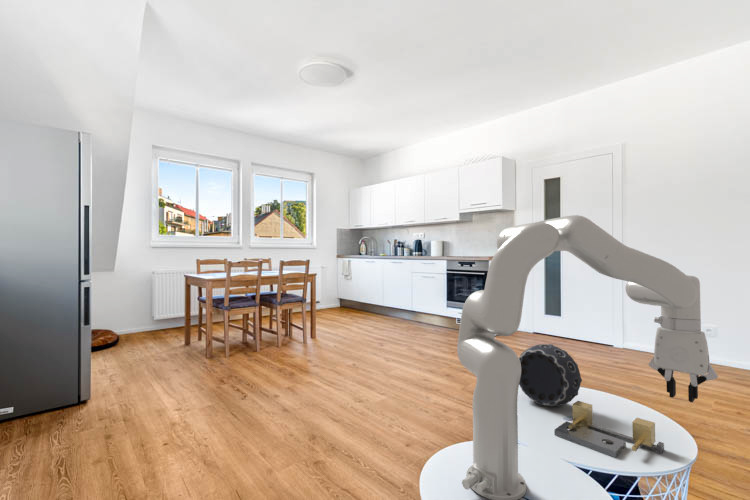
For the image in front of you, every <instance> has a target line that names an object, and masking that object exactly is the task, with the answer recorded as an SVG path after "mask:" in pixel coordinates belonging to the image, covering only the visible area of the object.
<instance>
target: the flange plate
mask: <svg viewBox="0 0 750 500" xmlns="http://www.w3.org/2000/svg"><path fill="white" fill-rule="evenodd" d="M571 423H572V422H570V421H564V422H563V423H562V424H560V425H559V426H558V427H556V428H555V429H554V431H553V432H554V436H555V437H559V438H562V439H565V440H567V441H569V442H572V443H575V444H578V445H580V446H583V447H585V448H589V449H591V450H593V451H597V452H599V453H602V454H605V455H607V456H610V457H611V458H612V457H613V458H615V459H617V458H618V456H619V455H620V454H621V453H622V452H623V451H624V450H625V449H626V448H627V442H626V441H624V440H621V439H618V438H615V437H612V436H609V435H606V434H603V433H600V432H597V431H594V430H591V429H588V428H585V427H582V426H579V425H577V426H575V427H574V428H573V429H569V425H570V424H571Z"/></svg>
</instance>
